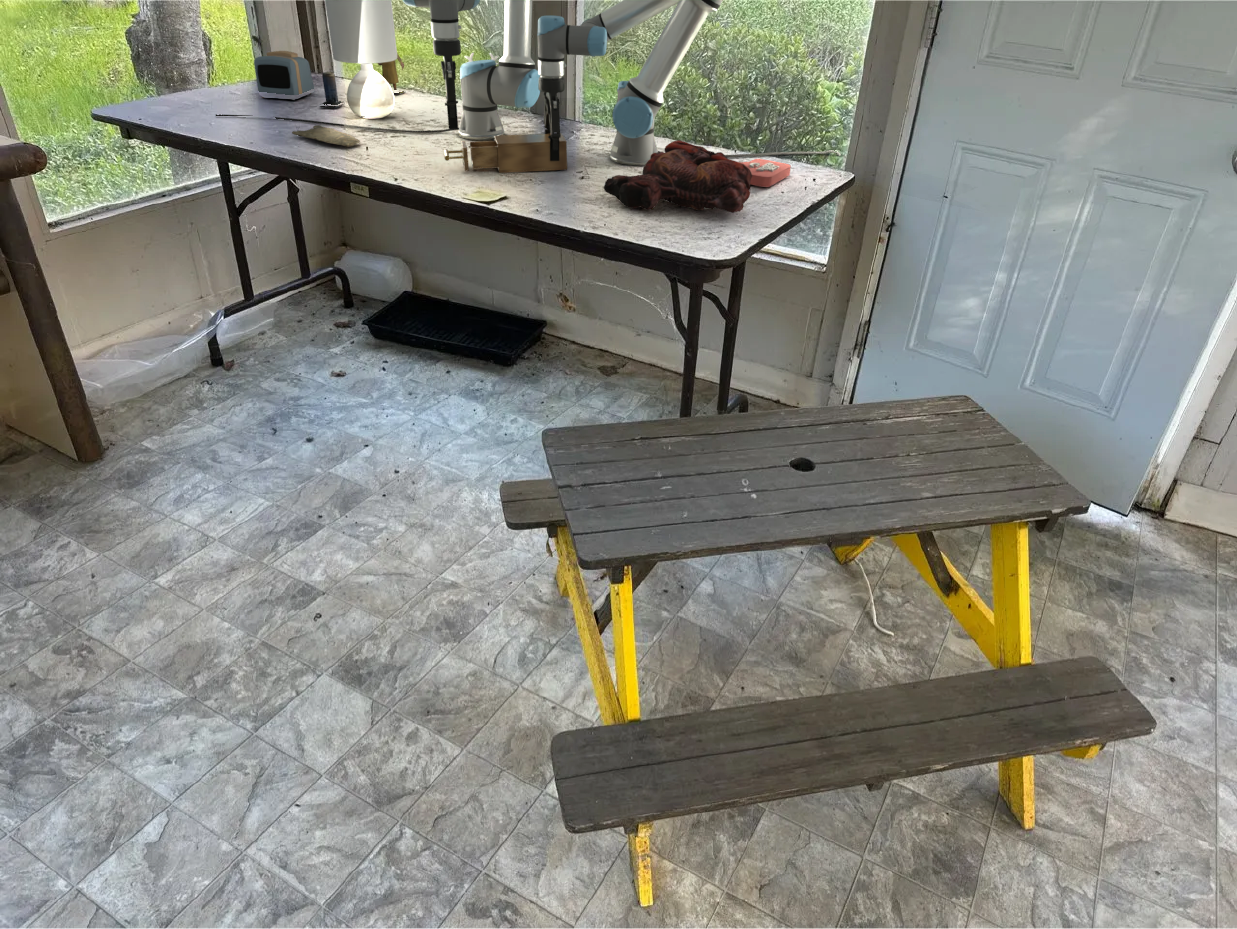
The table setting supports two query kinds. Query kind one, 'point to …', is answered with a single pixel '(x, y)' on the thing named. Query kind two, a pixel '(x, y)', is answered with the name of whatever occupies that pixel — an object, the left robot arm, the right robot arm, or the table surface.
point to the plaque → (767, 172)
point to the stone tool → (328, 136)
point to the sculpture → (685, 180)
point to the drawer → (477, 154)
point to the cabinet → (529, 153)
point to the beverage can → (330, 90)
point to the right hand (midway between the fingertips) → (552, 155)
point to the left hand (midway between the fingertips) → (453, 128)
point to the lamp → (364, 51)
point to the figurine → (391, 72)
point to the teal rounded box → (283, 73)
